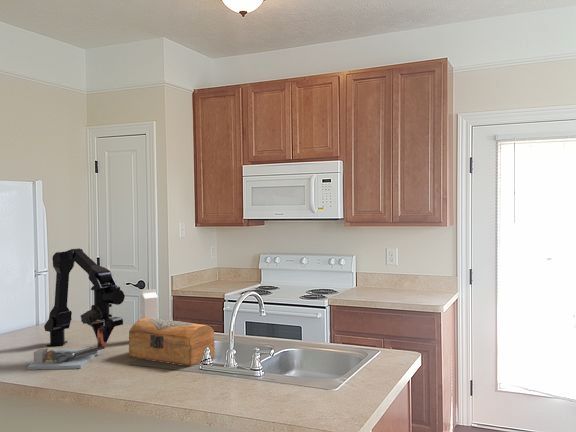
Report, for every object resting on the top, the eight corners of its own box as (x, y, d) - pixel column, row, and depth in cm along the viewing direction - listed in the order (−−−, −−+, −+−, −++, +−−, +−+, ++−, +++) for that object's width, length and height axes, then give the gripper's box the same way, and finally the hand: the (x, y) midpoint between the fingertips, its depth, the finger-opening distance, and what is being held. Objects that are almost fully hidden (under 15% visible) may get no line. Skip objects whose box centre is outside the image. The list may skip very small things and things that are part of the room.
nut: (48, 358, 209) (48, 349, 209) (57, 358, 209) (57, 349, 209) (44, 361, 205) (44, 351, 205) (54, 361, 205) (54, 351, 205)
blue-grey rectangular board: (52, 352, 224) (52, 339, 224) (101, 351, 225) (100, 338, 225) (27, 369, 200) (26, 355, 200) (81, 368, 201) (81, 354, 201)
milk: (140, 339, 243) (139, 289, 243) (154, 337, 246) (153, 288, 246) (145, 342, 238) (144, 291, 238) (159, 340, 241) (157, 289, 241)
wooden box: (126, 358, 214) (125, 322, 214) (155, 348, 229) (155, 314, 228) (187, 368, 200) (187, 330, 200) (215, 357, 214) (214, 321, 214)
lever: (53, 359, 205) (52, 338, 204) (101, 346, 223) (101, 327, 223) (61, 361, 202) (60, 340, 202) (109, 347, 220) (109, 328, 220)
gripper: (69, 302, 218) (69, 342, 218) (99, 307, 208) (100, 349, 208) (93, 298, 227) (93, 336, 228) (123, 303, 217) (124, 343, 217)
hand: (102, 341), depth 220 cm, fingers open, 4 cm apart
